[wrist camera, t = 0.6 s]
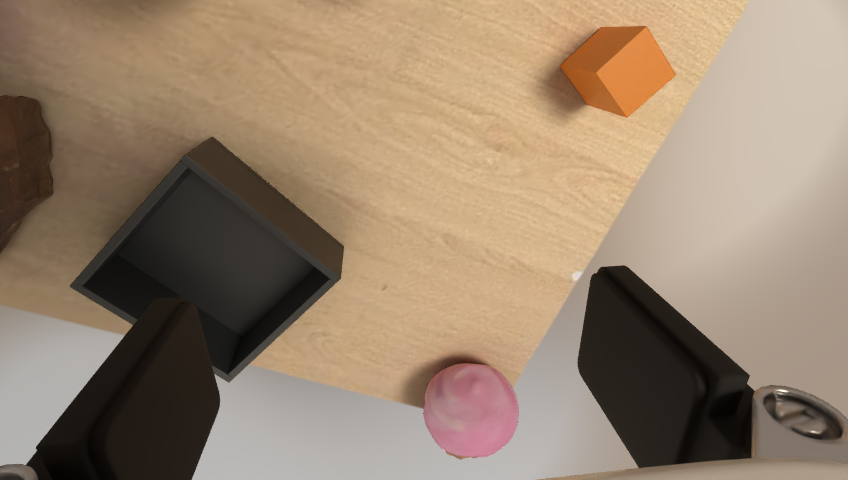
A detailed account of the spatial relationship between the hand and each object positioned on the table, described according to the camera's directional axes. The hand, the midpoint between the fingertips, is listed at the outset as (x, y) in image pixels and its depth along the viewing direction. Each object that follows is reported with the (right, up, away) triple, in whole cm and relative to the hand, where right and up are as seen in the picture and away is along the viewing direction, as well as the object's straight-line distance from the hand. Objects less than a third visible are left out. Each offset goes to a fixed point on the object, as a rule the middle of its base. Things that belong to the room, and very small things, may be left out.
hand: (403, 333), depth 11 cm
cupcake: (+5, -18, +36) cm, 41 cm away
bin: (-16, +1, +27) cm, 31 cm away
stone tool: (-24, +11, +17) cm, 32 cm away
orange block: (+14, +16, +24) cm, 32 cm away
